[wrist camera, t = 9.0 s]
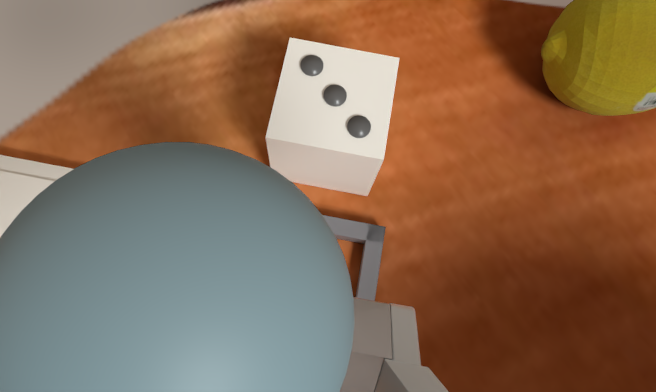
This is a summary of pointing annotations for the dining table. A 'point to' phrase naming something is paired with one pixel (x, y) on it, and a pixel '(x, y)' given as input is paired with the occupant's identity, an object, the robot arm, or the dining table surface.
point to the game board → (33, 177)
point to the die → (331, 116)
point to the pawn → (173, 280)
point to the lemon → (603, 56)
